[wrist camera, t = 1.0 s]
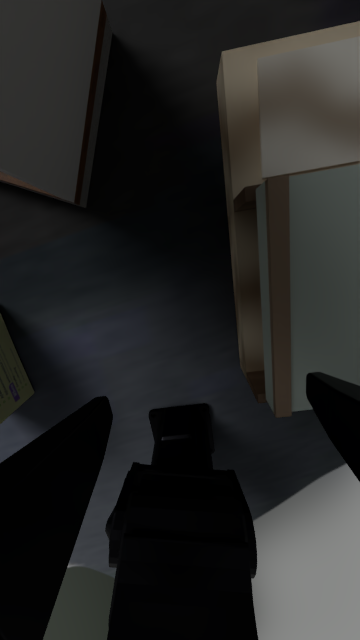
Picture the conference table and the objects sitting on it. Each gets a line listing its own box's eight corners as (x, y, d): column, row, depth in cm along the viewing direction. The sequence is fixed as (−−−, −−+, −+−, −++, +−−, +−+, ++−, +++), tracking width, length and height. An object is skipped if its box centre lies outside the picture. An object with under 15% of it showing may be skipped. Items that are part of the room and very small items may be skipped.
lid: (400, 384, 16) (428, 401, 14) (265, 399, 16) (276, 417, 14) (435, 157, 12) (481, 139, 10) (255, 189, 12) (267, 178, 10)
